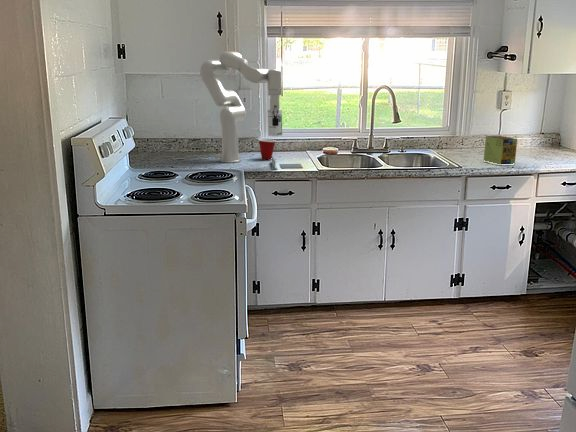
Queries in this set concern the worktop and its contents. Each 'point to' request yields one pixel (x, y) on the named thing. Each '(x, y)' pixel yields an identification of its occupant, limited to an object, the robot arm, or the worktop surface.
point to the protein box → (500, 149)
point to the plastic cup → (266, 148)
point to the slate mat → (291, 166)
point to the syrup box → (275, 129)
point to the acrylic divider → (273, 163)
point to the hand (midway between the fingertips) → (275, 124)
